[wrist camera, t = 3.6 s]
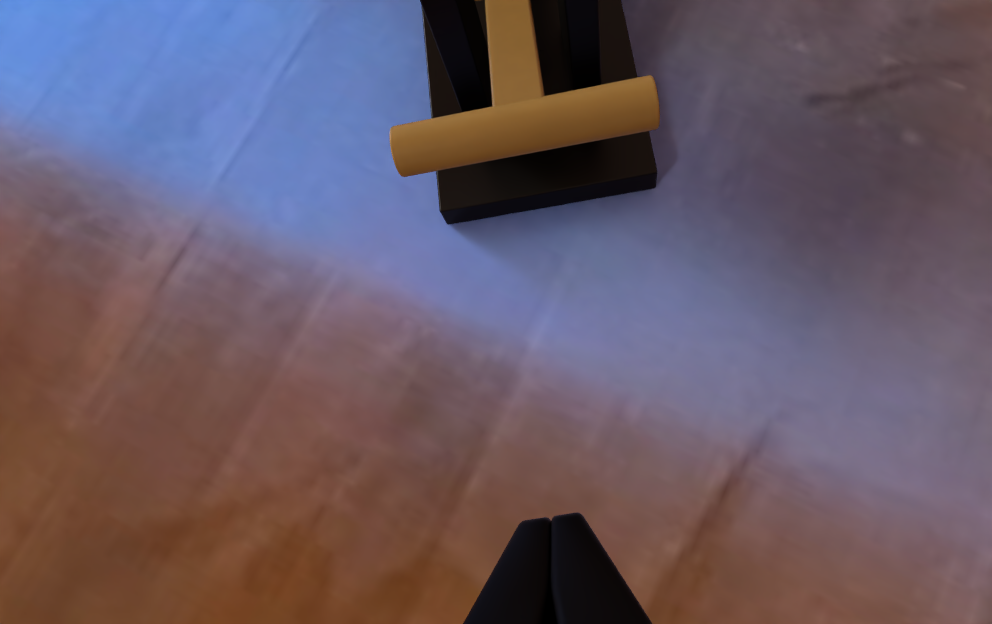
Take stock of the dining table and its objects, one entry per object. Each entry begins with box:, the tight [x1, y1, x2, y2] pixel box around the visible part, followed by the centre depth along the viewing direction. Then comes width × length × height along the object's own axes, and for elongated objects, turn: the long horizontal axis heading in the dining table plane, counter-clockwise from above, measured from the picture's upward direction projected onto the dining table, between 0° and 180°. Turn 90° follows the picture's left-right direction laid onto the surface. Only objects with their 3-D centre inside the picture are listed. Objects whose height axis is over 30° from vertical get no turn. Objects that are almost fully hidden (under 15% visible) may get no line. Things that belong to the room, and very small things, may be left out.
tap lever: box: [390, 0, 660, 177], centre depth 17 cm, size 11×6×2 cm, turn 7°
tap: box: [420, 0, 657, 224], centre depth 22 cm, size 10×8×10 cm
